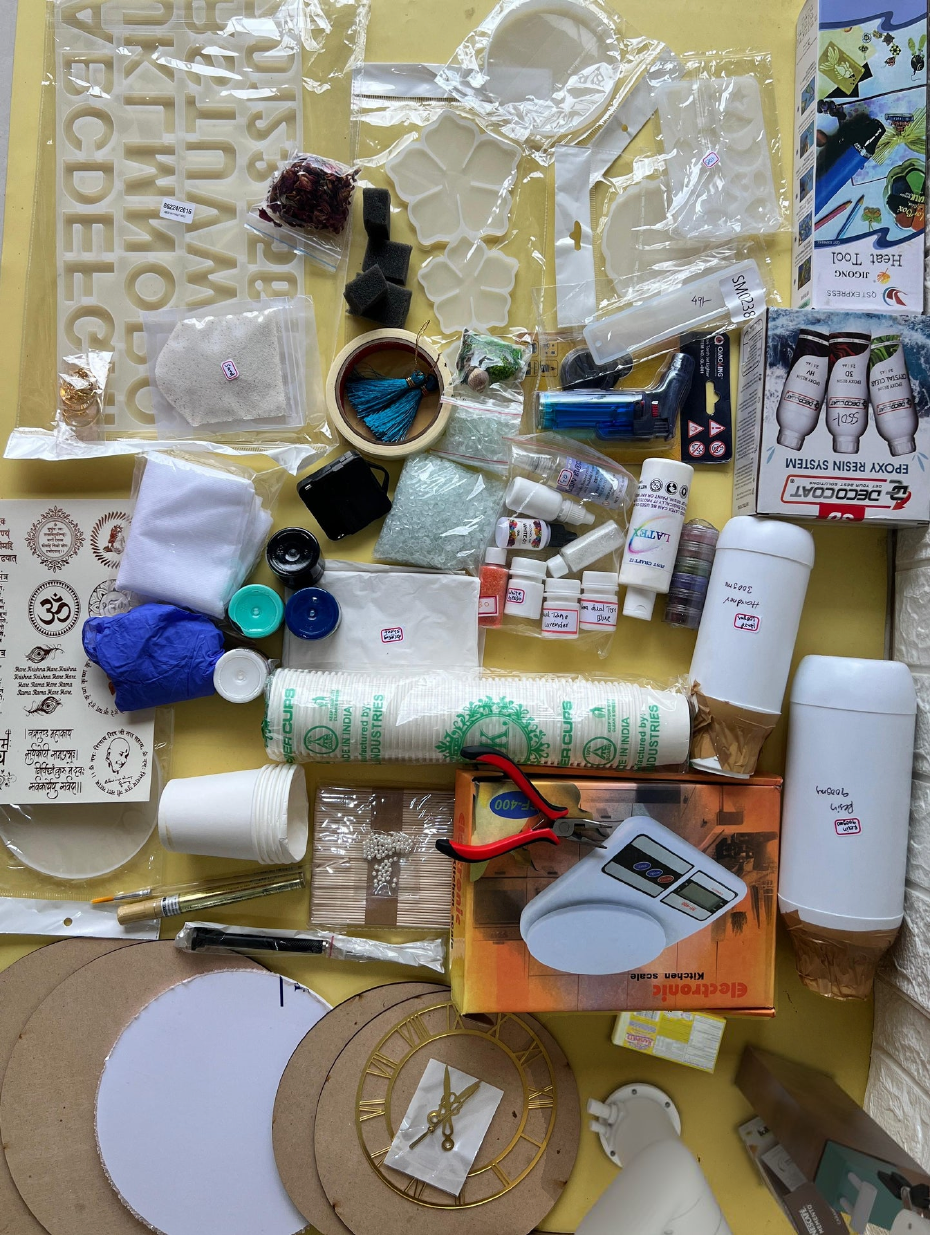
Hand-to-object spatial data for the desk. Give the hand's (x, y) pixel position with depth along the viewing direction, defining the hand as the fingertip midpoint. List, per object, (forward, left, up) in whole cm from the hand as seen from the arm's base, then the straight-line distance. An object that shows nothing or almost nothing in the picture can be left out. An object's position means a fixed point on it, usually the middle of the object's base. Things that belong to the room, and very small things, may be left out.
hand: (875, 1220), depth 88 cm
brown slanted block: (+6, 0, -36) cm, 36 cm away
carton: (+3, 0, -10) cm, 11 cm away
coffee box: (+7, -10, -36) cm, 38 cm away
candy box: (-14, -3, -35) cm, 37 cm away
